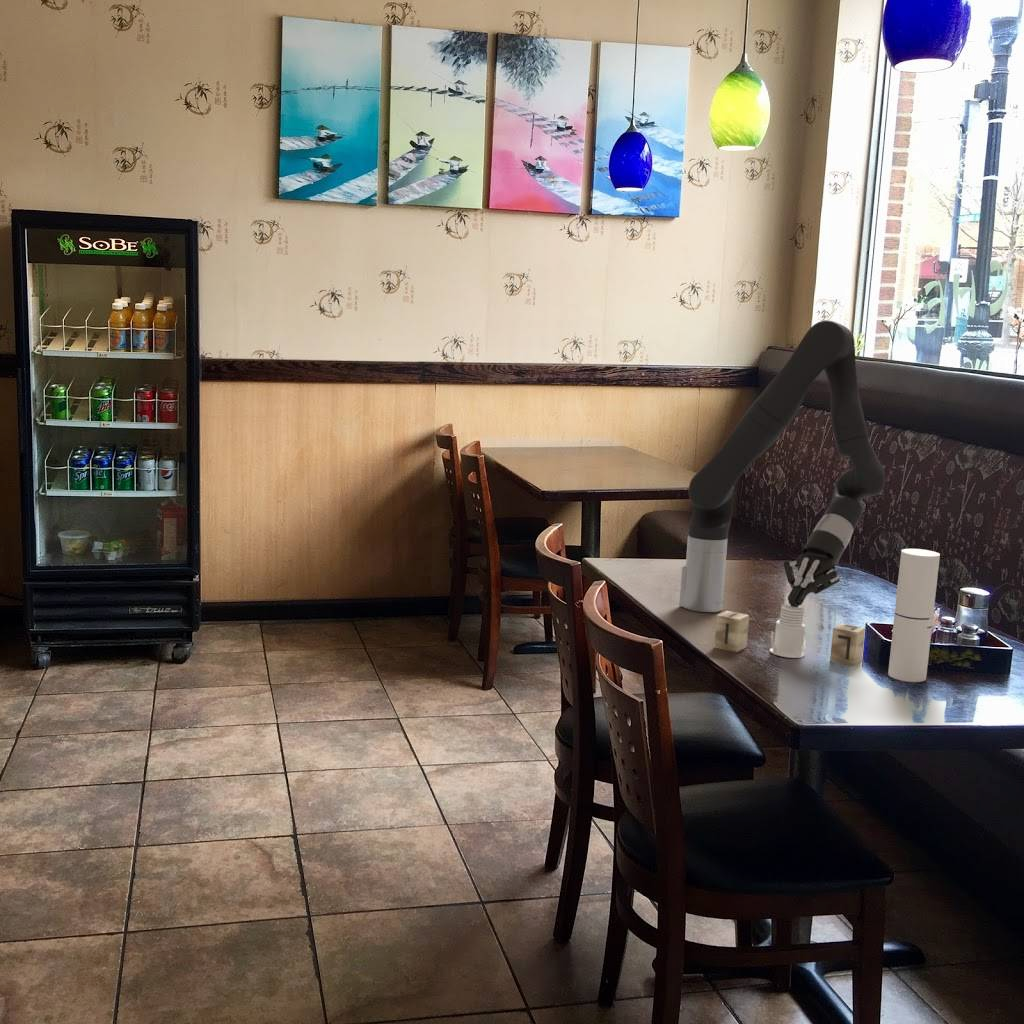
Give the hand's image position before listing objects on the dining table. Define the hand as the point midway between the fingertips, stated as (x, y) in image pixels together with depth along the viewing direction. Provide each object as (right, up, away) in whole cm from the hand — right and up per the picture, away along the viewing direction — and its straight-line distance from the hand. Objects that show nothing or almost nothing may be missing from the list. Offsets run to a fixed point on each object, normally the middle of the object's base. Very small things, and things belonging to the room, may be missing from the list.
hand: (792, 604), depth 244 cm
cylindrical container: (+20, -14, -10) cm, 26 cm away
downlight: (-1, -11, +2) cm, 11 cm away
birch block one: (-12, -9, +5) cm, 16 cm away
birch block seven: (+11, -11, -1) cm, 16 cm away
